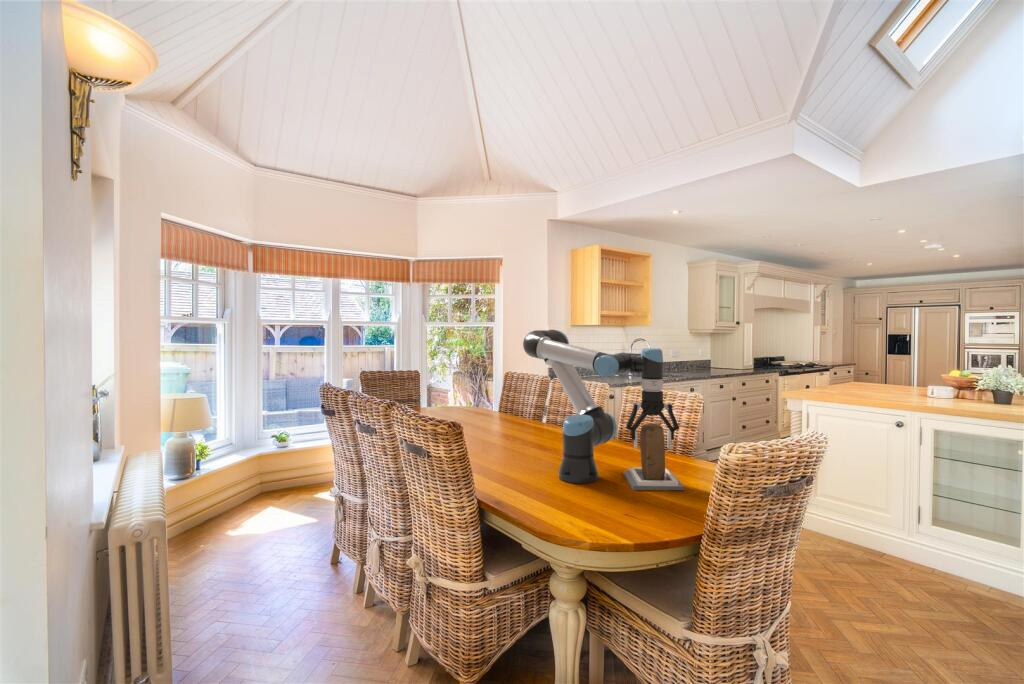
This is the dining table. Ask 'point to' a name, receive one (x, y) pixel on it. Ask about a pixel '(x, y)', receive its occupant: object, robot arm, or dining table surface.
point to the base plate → (652, 481)
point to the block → (652, 452)
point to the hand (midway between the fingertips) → (652, 448)
